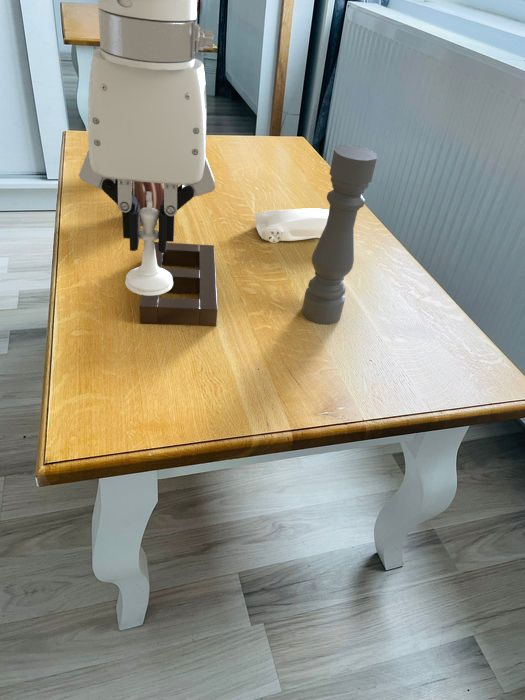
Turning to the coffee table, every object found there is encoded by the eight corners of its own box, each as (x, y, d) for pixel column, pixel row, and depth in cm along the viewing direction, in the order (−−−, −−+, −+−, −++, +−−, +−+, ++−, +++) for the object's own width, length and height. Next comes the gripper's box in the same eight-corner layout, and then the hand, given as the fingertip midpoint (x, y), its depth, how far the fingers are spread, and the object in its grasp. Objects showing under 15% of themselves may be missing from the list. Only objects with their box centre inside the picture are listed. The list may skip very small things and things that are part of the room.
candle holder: (301, 299, 89) (330, 141, 73) (339, 304, 89) (376, 147, 74) (302, 321, 84) (333, 157, 69) (342, 326, 84) (382, 163, 69)
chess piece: (127, 296, 56) (124, 203, 50) (123, 271, 59) (120, 181, 53) (176, 295, 57) (178, 203, 51) (169, 270, 61) (171, 182, 55)
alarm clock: (166, 228, 103) (167, 147, 94) (143, 233, 100) (141, 150, 91) (136, 206, 109) (134, 127, 100) (114, 210, 106) (110, 130, 97)
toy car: (261, 243, 102) (263, 220, 100) (252, 224, 108) (255, 202, 106) (351, 243, 107) (356, 222, 104) (339, 225, 113) (343, 204, 110)
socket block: (139, 323, 79) (139, 306, 77) (148, 257, 94) (148, 241, 92) (216, 326, 80) (217, 309, 79) (213, 260, 95) (214, 245, 94)
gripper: (244, 43, 48) (227, 234, 60) (54, 19, 46) (73, 223, 57) (249, 61, 43) (229, 269, 54) (32, 35, 40) (58, 258, 52)
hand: (149, 244), depth 55 cm, fingers closed on chess piece
